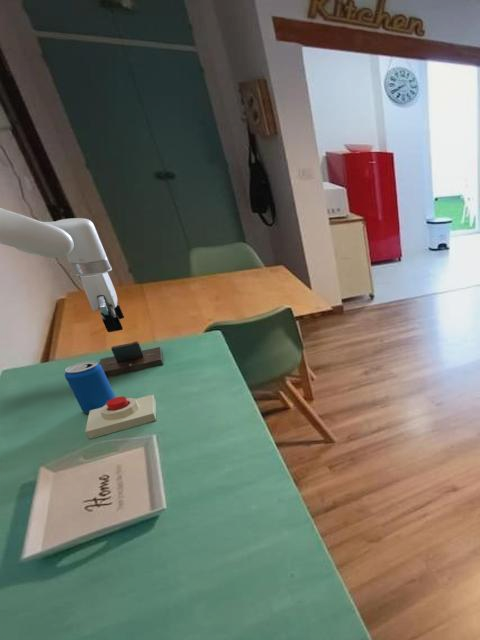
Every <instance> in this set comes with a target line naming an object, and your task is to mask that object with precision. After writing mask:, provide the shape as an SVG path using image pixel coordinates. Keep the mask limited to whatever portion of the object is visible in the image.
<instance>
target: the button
mask: <svg viewBox="0 0 480 640" xmlns="http://www.w3.org/2000/svg"><path fill="white" fill-rule="evenodd" d="M115 397H116V398H113V399H111V400H109V401H108V402H107V403H106V404H107V406H108V409H109V410H110V411H116V410H119V409H122V408H125V407H127V406H128V405H129V403H128V401H127V398H128V397H126V396H115Z"/></svg>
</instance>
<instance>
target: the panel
mask: <svg viewBox="0 0 480 640" xmlns="http://www.w3.org/2000/svg"><path fill="white" fill-rule="evenodd" d="M142 352H143V354H144V357H142V358H137V359H133V360H128V361H123V362H118V363H117V361H116V359H115V356H114V355H112V356H108V357H104V358H100V359H99V363H98V364H99V365H101V366H102V369H103V371H104V373H105V375H106V377H107V378H113V377H116V376H120V375H125V374H129V373H134V372H138V371H143V370H147V369H152V368H156V367H160V366H164V357H163V350H162V348H161V346H158V347H152V348H147V349H142Z"/></svg>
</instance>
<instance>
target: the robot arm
mask: <svg viewBox="0 0 480 640" xmlns="http://www.w3.org/2000/svg"><path fill="white" fill-rule="evenodd" d="M97 231H98V230H97V229H96V227H95V224H94V222H92V221H91V220H90V219H89V218H83V217H73V218H63V219H58V220H56V221H41V220H38V219H35V218H33V217H29V216H26V215H23V214H21V213H18V212H14V211H11V210H7V209H5V208H2V207H0V244H1V245H5V246H7V247H12V248H14V249H16V250H18V251H20V252H23V253H26V254H31V255H35V256H41V257H44V258H50V259H59V258H63V257H66V259H67V262H68V264H69V266H70V269H71V271H72V272H73V275H74V276H77V277H79V278H80V281H81V284H82V287H83V291H84V292H85V295H86V297H87V299H88V302H89V305H90V308H91V310H92V312H97V311H99V313H100V316H101V321H102V322H103V325H104V327H105V329H106V331H107V333H113V332H118V331H119V332H120V331H122V330H123V329H124V328H123V325H122V323H121V320H122V319H125V316H124V313H123V311H122V308H121V306H120V304H119V303H118V295H117V292H116V289H115V286H114V284H113V282H112V279H111V277H110V274H109V272H111V271H112V270H113V268H112V266H111V263H110V261H109V258H108V256H107V254H106V251H105V249H104V247H103V244H102V241H101V239H100V236H99V233H98V232H97Z"/></svg>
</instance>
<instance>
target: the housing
mask: <svg viewBox="0 0 480 640" xmlns="http://www.w3.org/2000/svg"><path fill="white" fill-rule="evenodd" d="M126 398H127V401H128V403H129V405H128V406H127V407H125V408H122V409H119V410H116V411H110V410H109V409H108V406H107V404H106V405H105V406H103V407H101V408H97V409H93V410H90V411H89V413H88V416H87V421H86V427H85V430H84V431H85V434H86V436H87V438H88V440H93V439H97V438H99V437H103V436H107V435H110V434H113V433H117V432H120V431H124V430H129V429H132V428H135V427H138V426H142V425H146V424H149V423H153V422H156V421H157V401H156V399H155V396H154V394H150V395H149V394H148V395H145V396H142V397H138V398H133V397H126Z"/></svg>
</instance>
